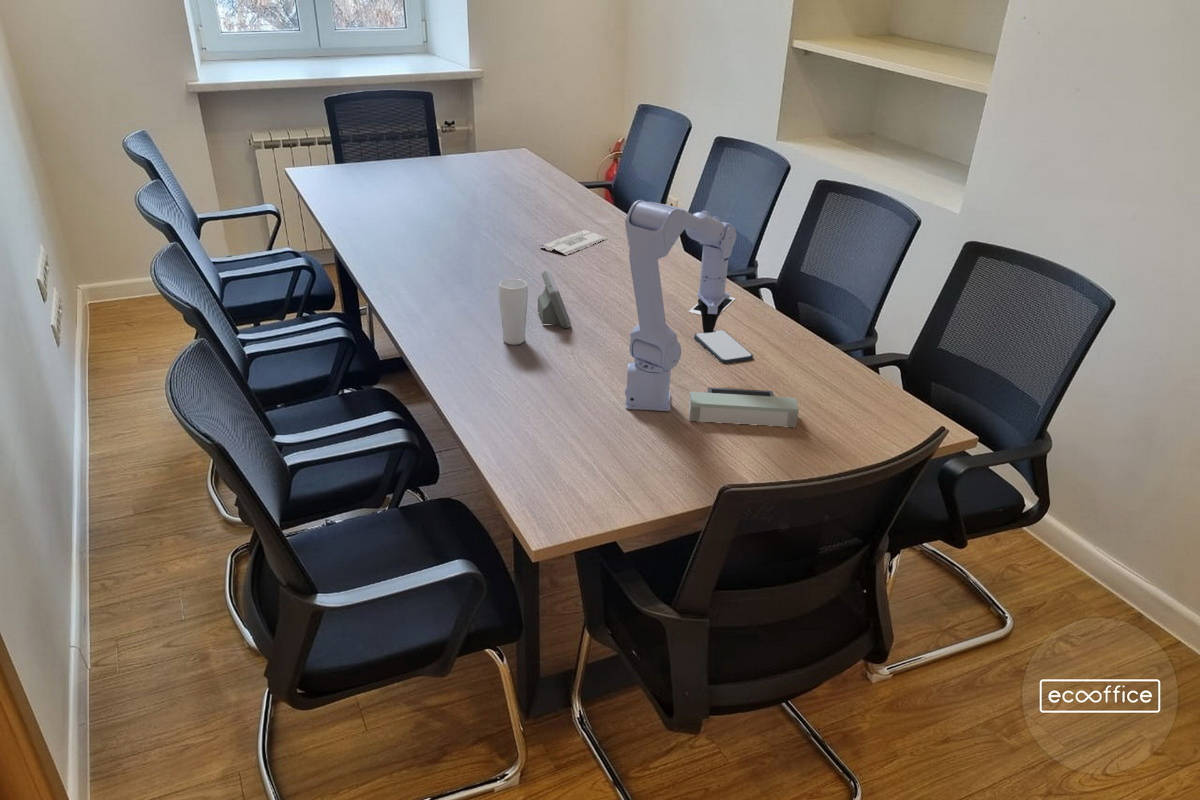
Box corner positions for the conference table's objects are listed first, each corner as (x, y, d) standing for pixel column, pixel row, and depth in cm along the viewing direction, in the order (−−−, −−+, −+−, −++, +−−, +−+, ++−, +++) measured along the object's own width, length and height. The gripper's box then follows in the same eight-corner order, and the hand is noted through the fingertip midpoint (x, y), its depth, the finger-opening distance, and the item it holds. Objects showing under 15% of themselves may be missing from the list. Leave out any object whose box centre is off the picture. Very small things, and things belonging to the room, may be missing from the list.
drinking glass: (516, 333, 218) (515, 276, 210) (533, 341, 213) (533, 284, 206) (494, 340, 213) (492, 282, 206) (512, 349, 209) (511, 291, 202)
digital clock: (570, 331, 220) (571, 291, 215) (534, 330, 220) (534, 290, 215) (572, 306, 234) (573, 269, 229) (538, 305, 234) (538, 267, 229)
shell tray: (708, 415, 184) (709, 405, 183) (706, 397, 191) (708, 387, 190) (775, 419, 183) (776, 408, 182) (771, 401, 190) (772, 391, 189)
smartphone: (754, 362, 209) (722, 334, 222) (755, 356, 208) (723, 328, 221) (722, 367, 206) (691, 338, 219) (722, 361, 205) (692, 333, 218)
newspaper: (577, 233, 291) (578, 226, 290) (606, 245, 286) (607, 238, 284) (533, 249, 275) (533, 242, 274) (563, 262, 269) (563, 254, 268)
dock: (689, 421, 182) (691, 403, 179) (688, 406, 187) (690, 388, 185) (795, 427, 181) (798, 409, 179) (791, 412, 186) (794, 394, 184)
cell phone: (688, 313, 233) (688, 311, 233) (709, 294, 246) (709, 292, 246) (715, 319, 230) (715, 317, 230) (735, 300, 243) (736, 298, 242)
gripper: (734, 287, 185) (727, 345, 192) (729, 264, 198) (723, 319, 204) (700, 285, 185) (695, 343, 192) (698, 262, 198) (693, 317, 205)
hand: (707, 331), depth 198 cm, fingers closed
